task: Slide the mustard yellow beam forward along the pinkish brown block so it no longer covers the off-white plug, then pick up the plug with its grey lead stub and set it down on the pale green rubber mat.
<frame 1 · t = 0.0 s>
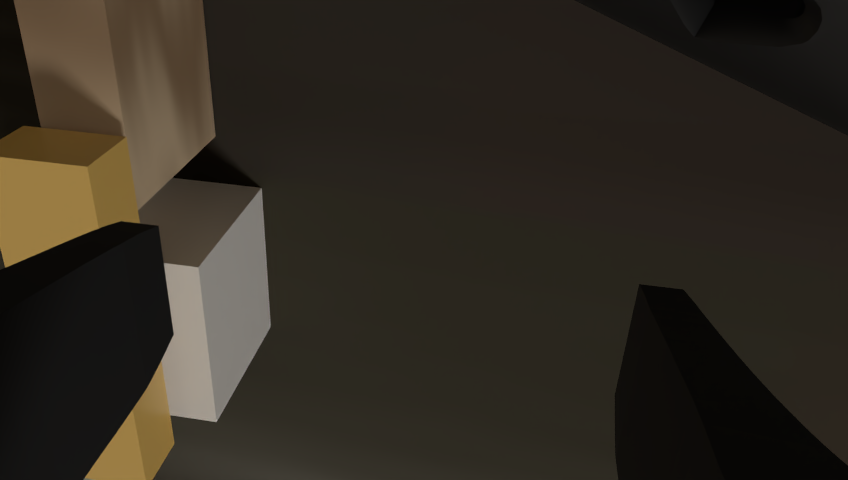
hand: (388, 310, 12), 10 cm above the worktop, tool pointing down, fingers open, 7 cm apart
mustard yellow beam: (90, 320, 18), point 6 cm above the worktop, slide at 0.0 cm
plug: (198, 250, 24), on the worktop
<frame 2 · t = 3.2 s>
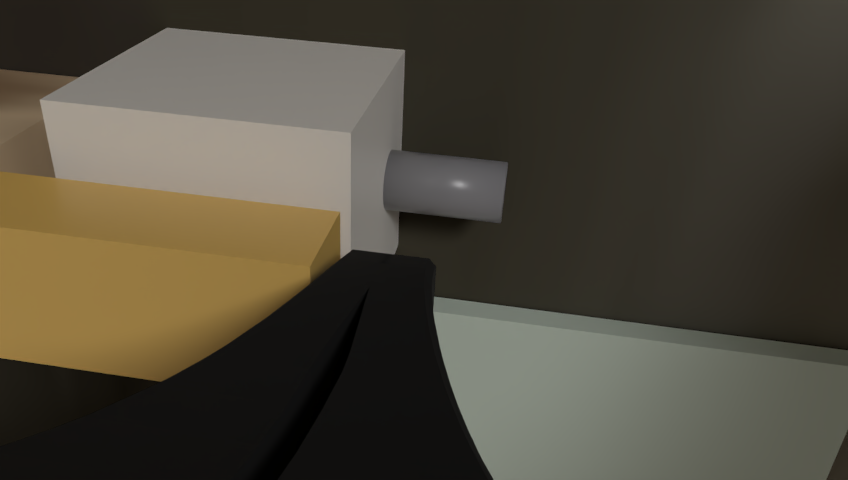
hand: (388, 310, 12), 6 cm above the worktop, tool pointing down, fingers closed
mustard yellow beam: (46, 269, 12), point 6 cm above the worktop, slide at 0.5 cm, touching gripper
mat: (604, 451, 20), on the worktop
plug: (289, 140, 17), on the worktop
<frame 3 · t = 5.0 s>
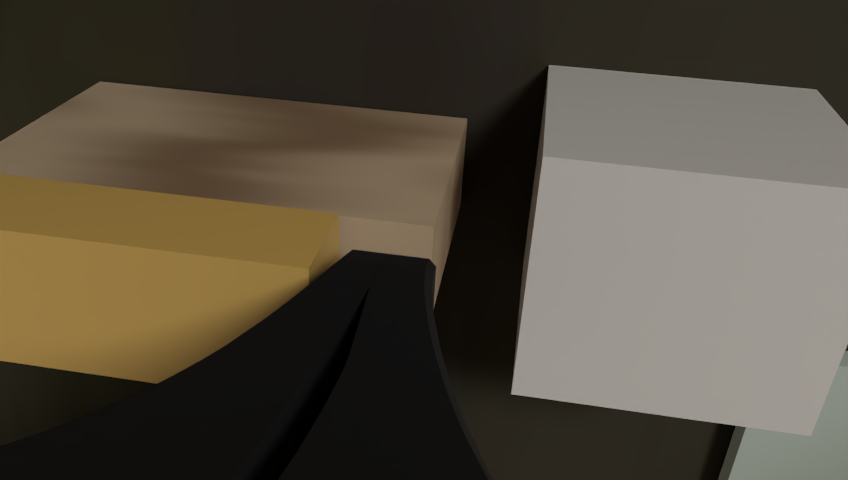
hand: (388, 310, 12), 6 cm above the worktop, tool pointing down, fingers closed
mustard yellow beam: (44, 272, 12), point 6 cm above the worktop, slide at 8.4 cm, touching gripper
pinkish brown block: (280, 143, 17), on the worktop
plug: (656, 181, 16), on the worktop
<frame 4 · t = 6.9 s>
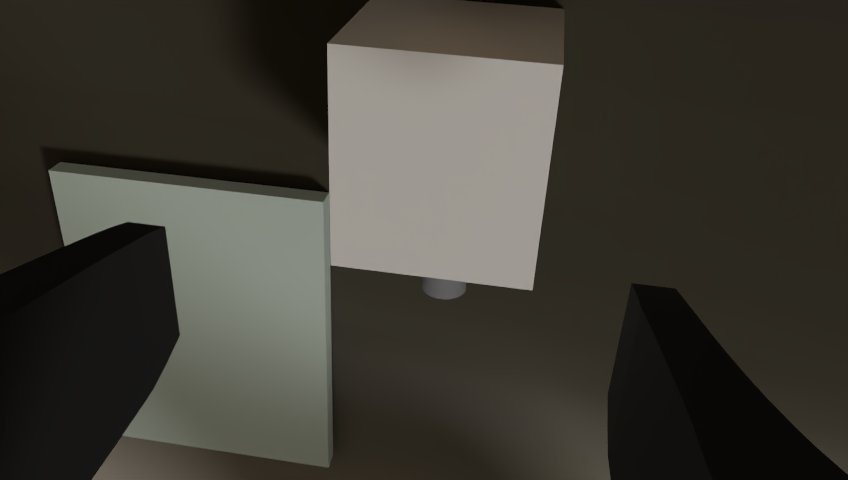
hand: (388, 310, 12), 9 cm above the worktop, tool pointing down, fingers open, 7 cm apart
mat: (208, 320, 25), on the worktop
plug: (462, 100, 20), on the worktop
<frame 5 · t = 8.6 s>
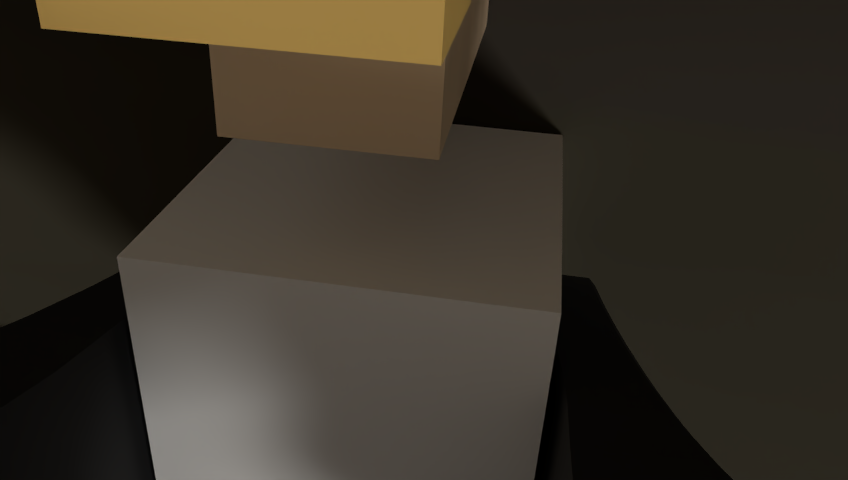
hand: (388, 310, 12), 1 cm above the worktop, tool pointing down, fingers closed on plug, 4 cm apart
plug: (405, 262, 13), on the worktop, touching gripper
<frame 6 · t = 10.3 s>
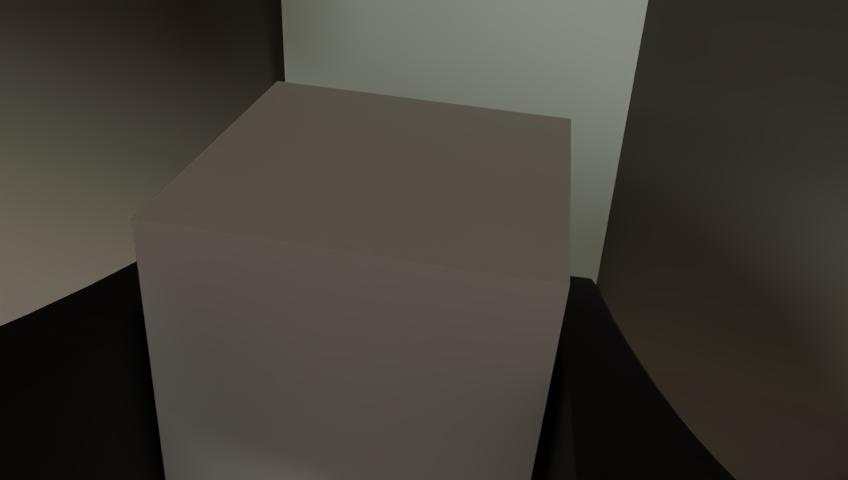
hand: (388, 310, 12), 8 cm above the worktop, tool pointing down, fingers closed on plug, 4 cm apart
mat: (453, 117, 19), on the worktop
plug: (410, 242, 13), point 7 cm above the worktop, touching gripper
when the fingers open (2 cm above the worktop, at t = 11.9 s): plug stays where it is, resting on mat.
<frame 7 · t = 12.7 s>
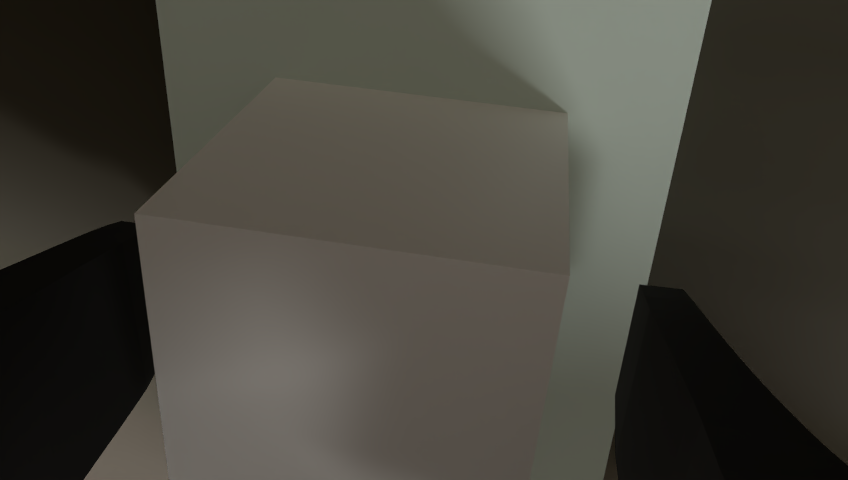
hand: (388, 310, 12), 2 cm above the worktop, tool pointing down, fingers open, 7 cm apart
mat: (413, 232, 14), on the worktop
plug: (408, 237, 13), point 1 cm above the worktop, touching mat
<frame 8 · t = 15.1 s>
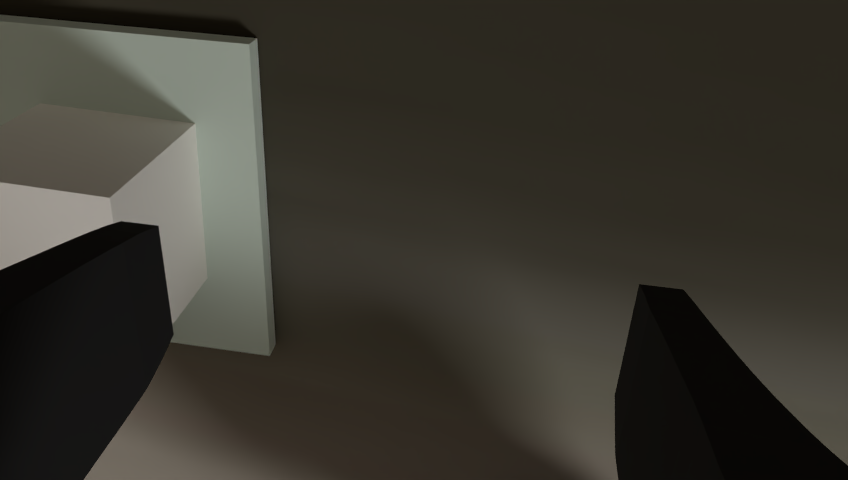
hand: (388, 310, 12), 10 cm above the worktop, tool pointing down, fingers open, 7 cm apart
mat: (138, 193, 23), on the worktop
plug: (127, 194, 23), point 1 cm above the worktop, touching mat
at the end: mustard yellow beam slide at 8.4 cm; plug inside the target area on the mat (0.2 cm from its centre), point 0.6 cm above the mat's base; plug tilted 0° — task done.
